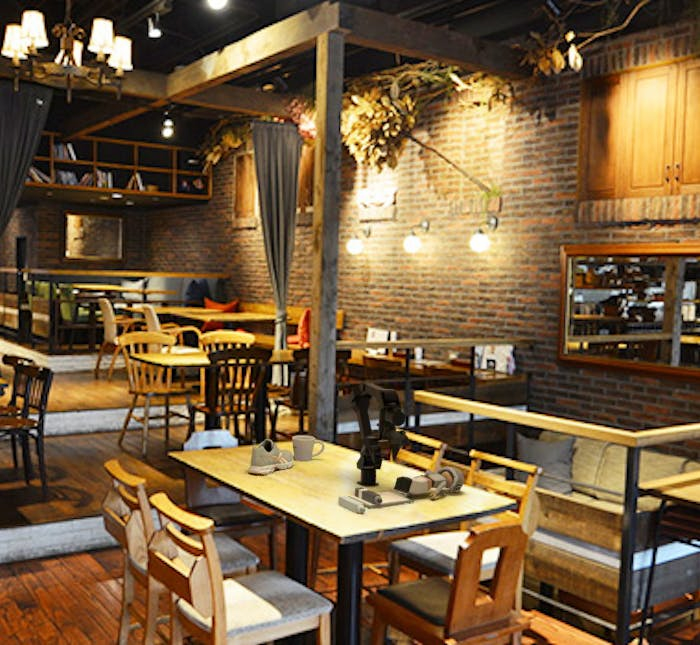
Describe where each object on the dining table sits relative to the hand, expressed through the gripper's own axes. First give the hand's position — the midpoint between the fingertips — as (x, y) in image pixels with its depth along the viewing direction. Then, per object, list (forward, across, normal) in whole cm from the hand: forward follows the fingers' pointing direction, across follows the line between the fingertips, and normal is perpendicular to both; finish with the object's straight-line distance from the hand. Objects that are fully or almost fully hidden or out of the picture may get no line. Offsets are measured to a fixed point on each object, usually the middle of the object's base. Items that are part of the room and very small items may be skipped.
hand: (384, 461), depth 314 cm
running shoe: (+12, -21, +51) cm, 56 cm away
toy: (+12, +15, -11) cm, 23 cm away
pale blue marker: (+12, -24, -14) cm, 30 cm away
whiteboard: (+12, -8, -10) cm, 17 cm away
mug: (+12, +2, +61) cm, 62 cm away
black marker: (+11, -14, -11) cm, 21 cm away
